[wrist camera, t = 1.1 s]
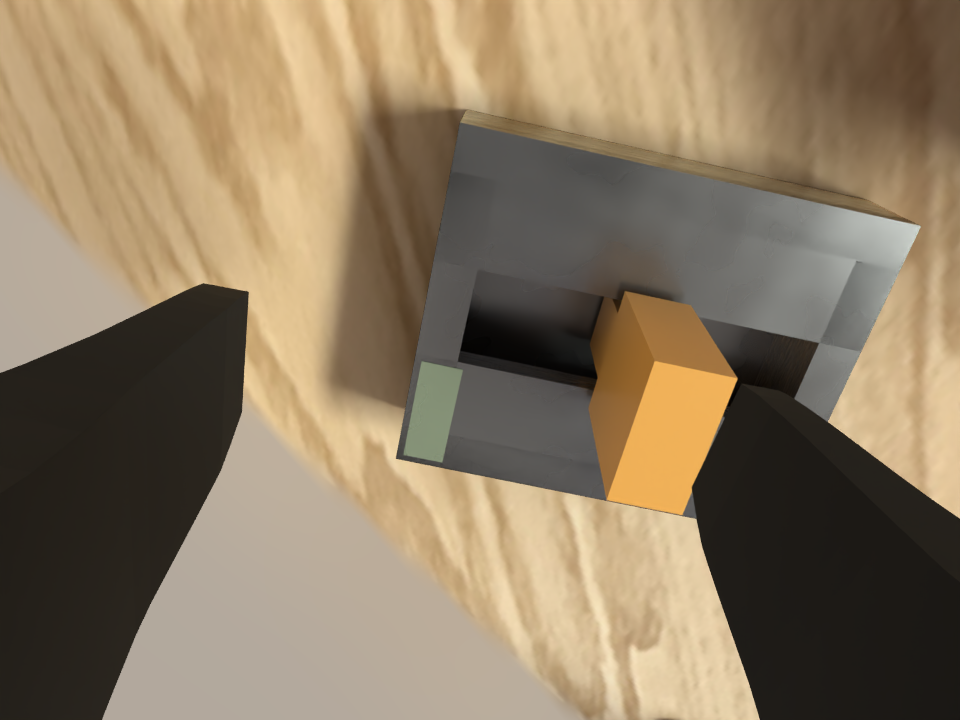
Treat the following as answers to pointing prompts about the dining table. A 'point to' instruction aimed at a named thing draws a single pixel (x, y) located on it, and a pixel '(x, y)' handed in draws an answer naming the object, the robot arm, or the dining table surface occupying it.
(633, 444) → the lever
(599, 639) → the dining table surface
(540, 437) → the switch box
